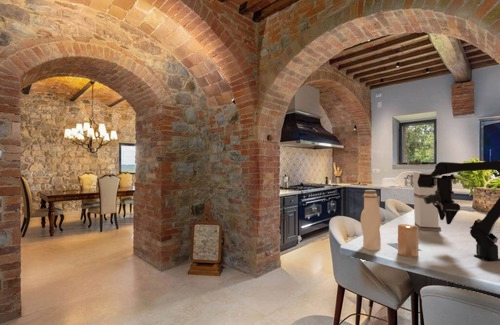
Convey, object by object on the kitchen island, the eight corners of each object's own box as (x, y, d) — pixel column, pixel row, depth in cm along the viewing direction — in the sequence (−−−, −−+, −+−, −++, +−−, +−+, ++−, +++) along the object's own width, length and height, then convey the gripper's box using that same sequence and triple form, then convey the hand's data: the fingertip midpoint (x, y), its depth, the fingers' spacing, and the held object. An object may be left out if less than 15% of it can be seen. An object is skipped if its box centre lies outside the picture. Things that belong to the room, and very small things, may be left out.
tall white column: (440, 230, 154) (439, 172, 154) (420, 229, 157) (418, 172, 157) (433, 226, 164) (432, 171, 165) (414, 225, 168) (413, 171, 168)
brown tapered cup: (422, 257, 112) (422, 228, 111) (405, 258, 111) (405, 229, 111) (410, 250, 119) (410, 223, 119) (394, 251, 119) (394, 224, 118)
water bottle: (365, 243, 132) (363, 189, 133) (384, 246, 127) (383, 189, 127) (359, 248, 125) (357, 190, 125) (379, 252, 119) (377, 191, 119)
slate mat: (422, 251, 119) (422, 250, 119) (401, 252, 119) (401, 251, 119) (405, 243, 131) (405, 242, 131) (386, 244, 131) (386, 243, 131)
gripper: (419, 186, 132) (419, 216, 132) (429, 190, 115) (430, 225, 115) (445, 186, 128) (446, 218, 128) (460, 191, 111) (460, 227, 111)
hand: (445, 222), depth 121 cm, fingers open, 9 cm apart
